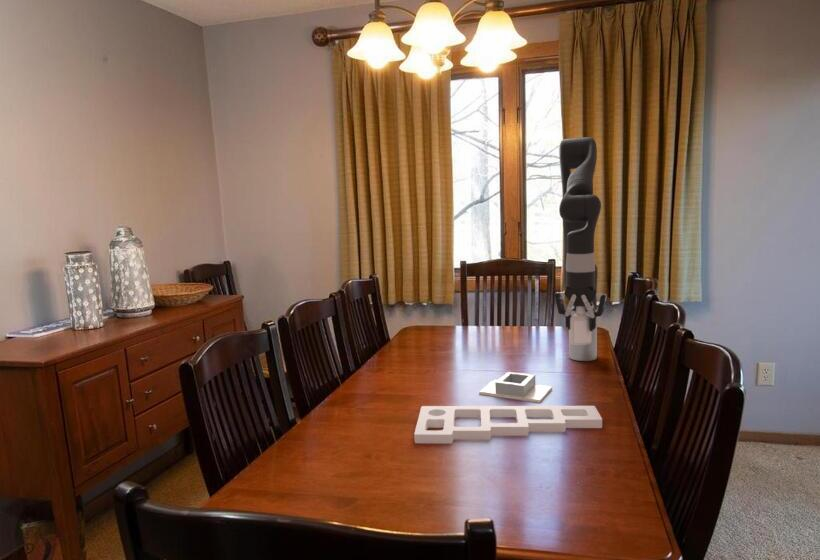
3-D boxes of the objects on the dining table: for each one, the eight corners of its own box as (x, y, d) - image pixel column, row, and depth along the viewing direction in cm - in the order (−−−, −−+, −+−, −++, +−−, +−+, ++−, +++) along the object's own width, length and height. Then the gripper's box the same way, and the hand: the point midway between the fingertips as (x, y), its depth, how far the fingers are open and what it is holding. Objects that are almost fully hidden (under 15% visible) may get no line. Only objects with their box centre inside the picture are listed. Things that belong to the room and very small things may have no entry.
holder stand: (494, 381, 170) (494, 369, 170) (552, 389, 161) (551, 376, 160) (479, 394, 160) (478, 380, 159) (539, 402, 151) (539, 388, 150)
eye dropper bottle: (591, 346, 149) (591, 303, 147) (569, 345, 151) (569, 302, 149) (591, 342, 153) (591, 299, 151) (570, 341, 155) (570, 299, 153)
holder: (594, 415, 142) (594, 405, 141) (611, 446, 124) (611, 435, 124) (421, 415, 147) (421, 406, 147) (414, 445, 130) (414, 434, 129)
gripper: (610, 267, 148) (610, 328, 151) (557, 266, 156) (558, 325, 158) (605, 271, 142) (605, 335, 145) (550, 270, 149) (551, 331, 152)
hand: (580, 329), depth 151 cm, fingers closed on eye dropper bottle, 5 cm apart
